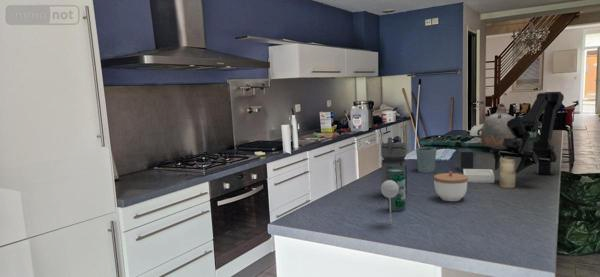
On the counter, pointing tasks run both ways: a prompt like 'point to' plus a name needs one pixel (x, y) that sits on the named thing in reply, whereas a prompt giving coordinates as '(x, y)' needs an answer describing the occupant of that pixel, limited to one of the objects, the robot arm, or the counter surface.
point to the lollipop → (389, 191)
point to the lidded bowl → (450, 186)
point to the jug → (496, 128)
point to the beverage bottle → (393, 157)
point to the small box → (465, 159)
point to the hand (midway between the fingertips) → (505, 171)
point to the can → (399, 200)
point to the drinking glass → (426, 159)
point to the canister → (507, 172)
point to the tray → (479, 175)
